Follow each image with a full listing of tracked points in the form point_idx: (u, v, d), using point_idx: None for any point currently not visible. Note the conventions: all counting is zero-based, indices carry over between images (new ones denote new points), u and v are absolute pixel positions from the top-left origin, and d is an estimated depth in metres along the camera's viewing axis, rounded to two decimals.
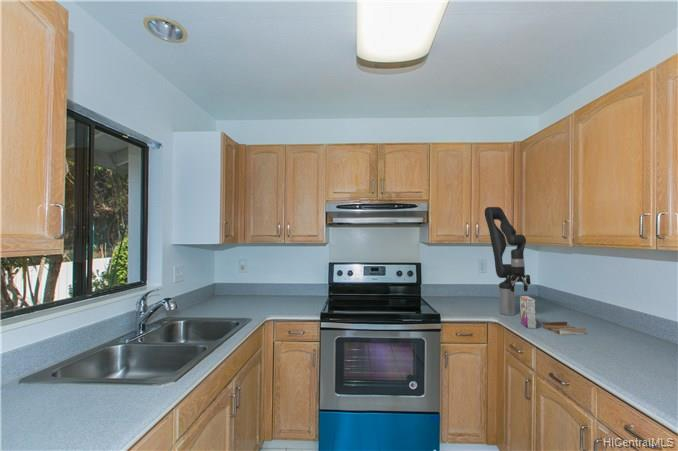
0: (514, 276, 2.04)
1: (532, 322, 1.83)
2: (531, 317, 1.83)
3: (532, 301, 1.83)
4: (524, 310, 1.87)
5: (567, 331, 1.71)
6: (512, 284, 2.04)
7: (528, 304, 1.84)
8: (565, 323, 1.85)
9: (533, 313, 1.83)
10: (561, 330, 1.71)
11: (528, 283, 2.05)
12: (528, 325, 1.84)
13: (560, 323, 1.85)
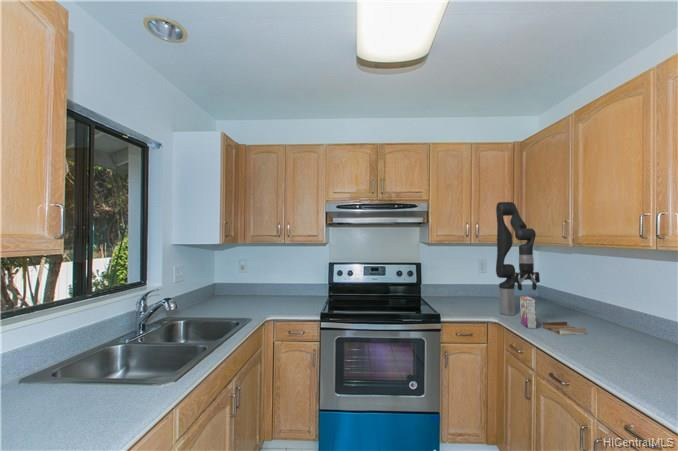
0: (522, 273, 1.88)
1: (532, 322, 1.83)
2: (531, 317, 1.83)
3: (532, 301, 1.83)
4: (524, 310, 1.87)
5: (567, 331, 1.71)
6: (520, 282, 1.88)
7: (528, 304, 1.84)
8: (565, 323, 1.85)
9: (533, 313, 1.83)
10: (561, 330, 1.71)
11: (537, 281, 1.89)
12: (528, 325, 1.84)
13: (560, 323, 1.85)
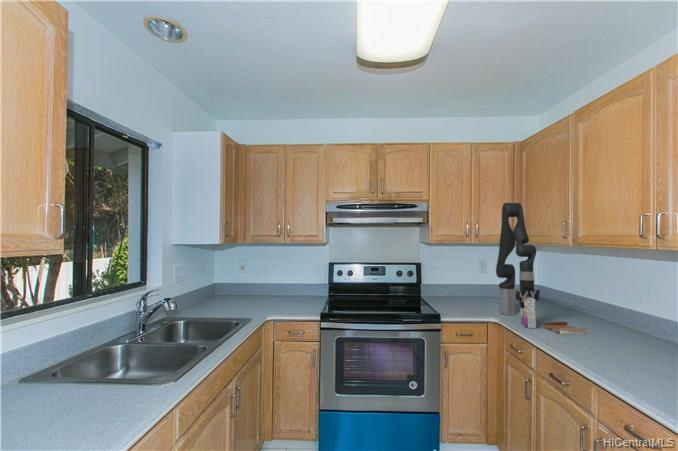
0: (522, 291, 1.88)
1: (532, 322, 1.83)
2: (531, 317, 1.83)
3: (532, 301, 1.83)
4: (524, 310, 1.87)
5: (567, 331, 1.71)
6: (522, 300, 1.88)
7: (528, 304, 1.84)
8: (565, 323, 1.85)
9: (533, 313, 1.83)
10: (561, 330, 1.71)
11: (536, 299, 1.88)
12: (528, 325, 1.84)
13: (560, 323, 1.85)
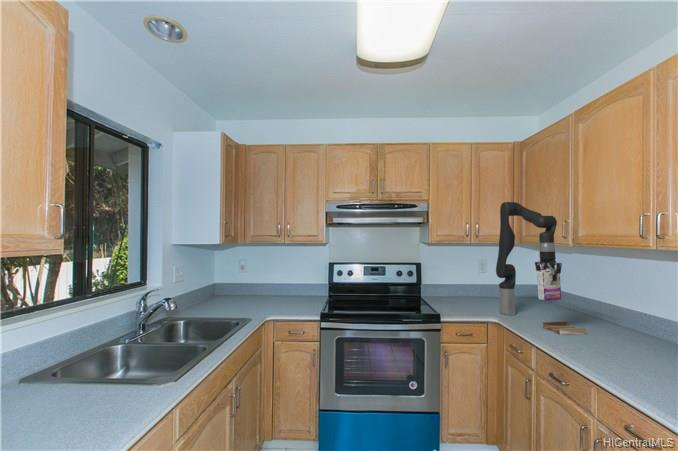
0: (540, 263, 1.85)
1: (541, 293, 1.81)
2: (540, 288, 1.81)
3: (540, 272, 1.81)
4: None
5: (567, 331, 1.71)
6: None
7: (537, 275, 1.83)
8: (565, 323, 1.85)
9: (541, 284, 1.80)
10: (561, 330, 1.71)
11: (556, 272, 1.78)
12: (538, 296, 1.82)
13: (560, 323, 1.85)
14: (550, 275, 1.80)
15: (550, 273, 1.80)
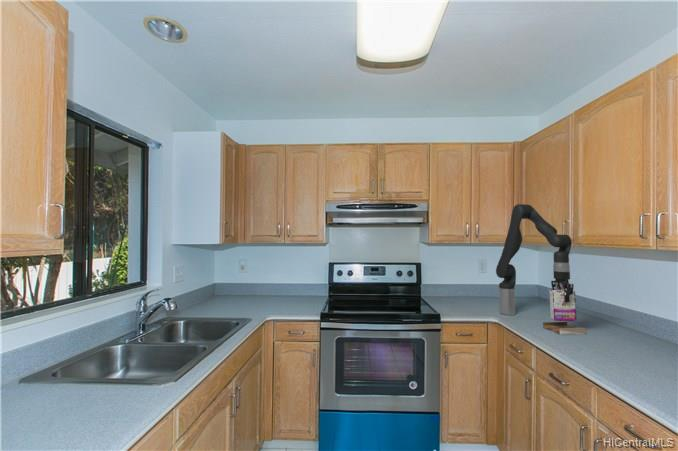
0: (555, 282, 1.82)
1: (552, 313, 1.80)
2: (551, 308, 1.80)
3: (551, 291, 1.79)
4: None
5: (567, 331, 1.71)
6: None
7: (550, 294, 1.82)
8: (565, 323, 1.85)
9: (552, 304, 1.79)
10: (561, 330, 1.71)
11: (567, 293, 1.74)
12: None
13: (560, 323, 1.85)
14: (562, 295, 1.77)
15: (562, 293, 1.77)
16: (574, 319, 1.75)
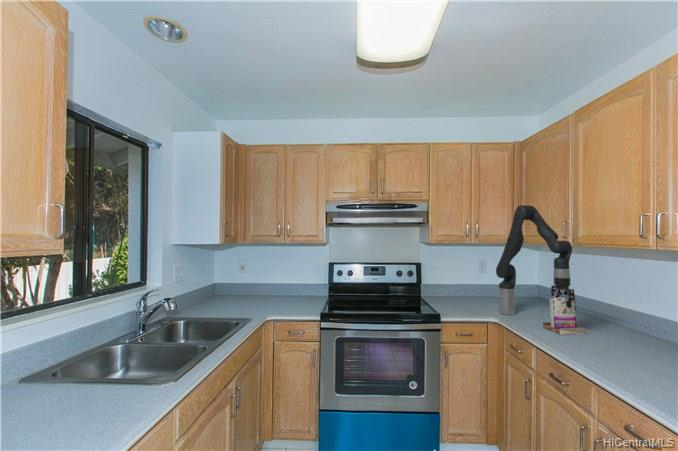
0: (556, 287, 1.82)
1: (552, 321, 1.79)
2: (552, 316, 1.80)
3: (551, 299, 1.79)
4: None
5: (567, 331, 1.71)
6: (554, 296, 1.84)
7: (550, 302, 1.82)
8: None
9: (552, 312, 1.79)
10: (561, 330, 1.71)
11: (569, 299, 1.73)
12: (551, 323, 1.81)
13: None
14: (562, 303, 1.77)
15: (562, 301, 1.77)
16: (574, 327, 1.76)
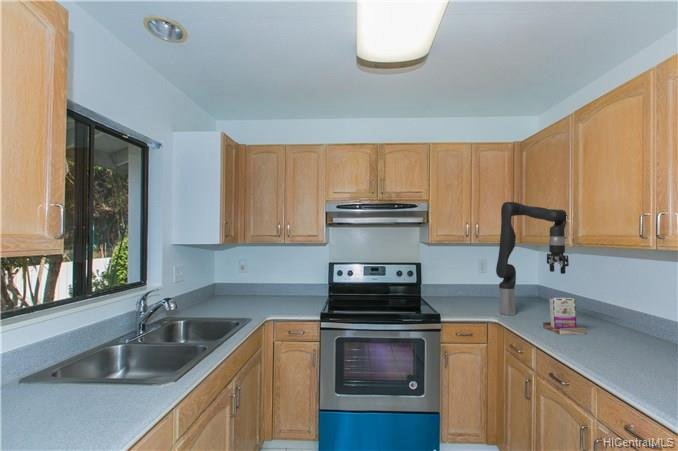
0: (551, 255, 1.88)
1: (552, 321, 1.79)
2: (552, 316, 1.80)
3: (551, 299, 1.79)
4: None
5: (567, 331, 1.71)
6: (549, 263, 1.90)
7: (550, 302, 1.82)
8: None
9: (552, 312, 1.79)
10: (561, 330, 1.71)
11: (563, 265, 1.79)
12: (551, 323, 1.81)
13: None
14: (562, 303, 1.77)
15: (562, 301, 1.77)
16: (574, 327, 1.76)
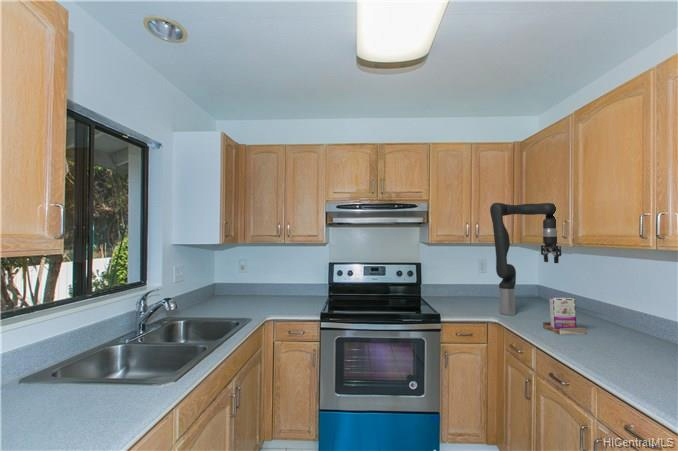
0: (545, 246, 1.99)
1: (552, 321, 1.79)
2: (552, 316, 1.80)
3: (551, 299, 1.79)
4: None
5: (567, 331, 1.71)
6: (543, 254, 2.01)
7: (550, 302, 1.82)
8: None
9: (552, 312, 1.79)
10: (561, 330, 1.71)
11: None
12: (551, 323, 1.81)
13: None
14: (562, 303, 1.77)
15: (562, 301, 1.77)
16: (574, 327, 1.76)
